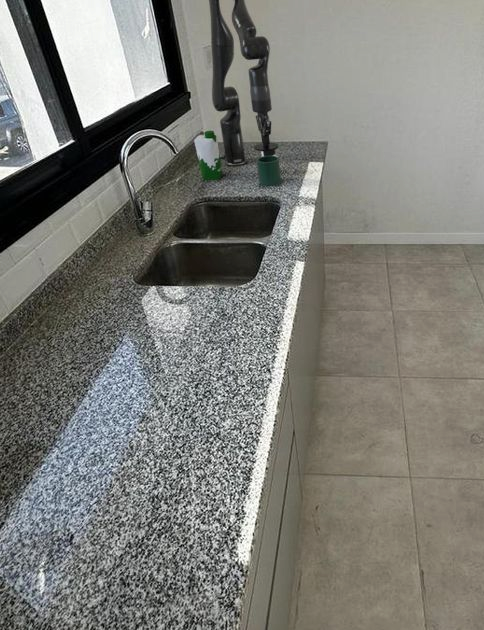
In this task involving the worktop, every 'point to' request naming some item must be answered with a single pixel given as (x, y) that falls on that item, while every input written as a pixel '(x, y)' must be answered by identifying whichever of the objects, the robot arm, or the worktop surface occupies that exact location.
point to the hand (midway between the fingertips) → (266, 143)
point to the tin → (269, 170)
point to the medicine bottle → (268, 153)
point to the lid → (266, 146)
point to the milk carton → (208, 156)
